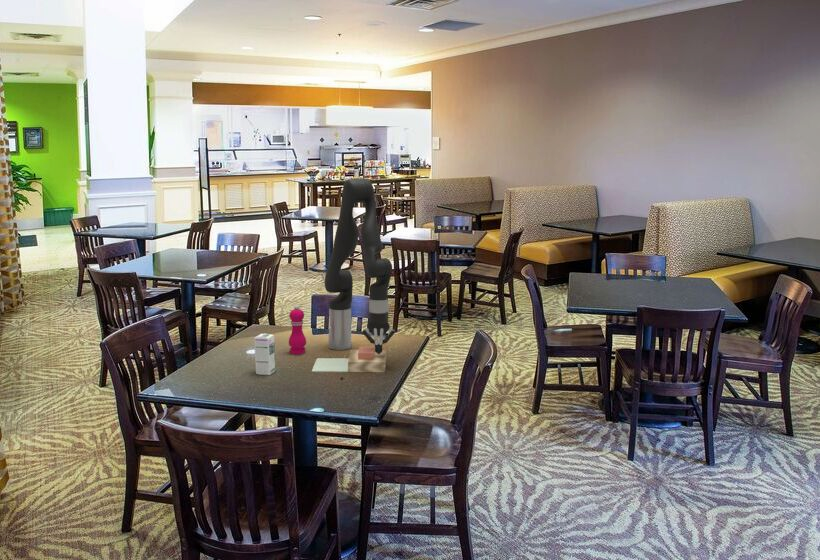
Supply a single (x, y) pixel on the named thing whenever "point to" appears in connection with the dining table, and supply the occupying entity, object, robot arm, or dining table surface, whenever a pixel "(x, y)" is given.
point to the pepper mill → (297, 332)
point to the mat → (331, 365)
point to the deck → (367, 363)
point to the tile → (366, 352)
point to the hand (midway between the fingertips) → (378, 353)
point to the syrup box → (265, 354)
